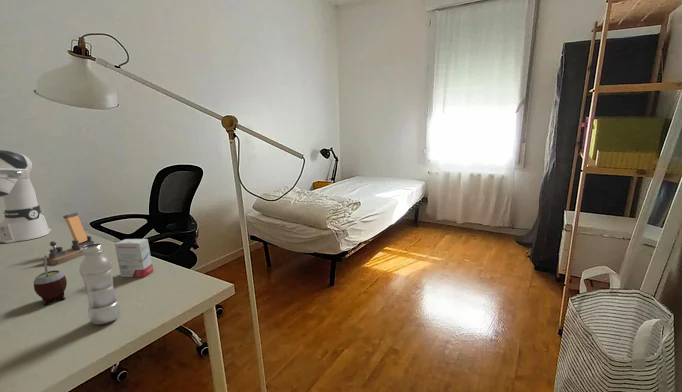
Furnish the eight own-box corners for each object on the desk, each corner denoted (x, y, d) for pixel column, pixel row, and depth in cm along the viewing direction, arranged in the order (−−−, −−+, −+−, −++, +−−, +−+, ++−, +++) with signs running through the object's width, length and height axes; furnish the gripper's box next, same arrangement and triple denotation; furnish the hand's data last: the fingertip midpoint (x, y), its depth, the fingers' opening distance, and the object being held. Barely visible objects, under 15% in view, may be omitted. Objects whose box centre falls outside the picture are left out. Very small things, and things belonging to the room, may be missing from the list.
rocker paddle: (74, 244, 133) (62, 216, 131) (85, 240, 137) (73, 213, 135) (78, 243, 132) (66, 215, 130) (88, 239, 136) (77, 212, 134)
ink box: (154, 271, 114) (148, 238, 111) (144, 277, 109) (138, 243, 106) (130, 270, 114) (125, 238, 112) (120, 277, 110) (113, 243, 107)
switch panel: (43, 263, 124) (40, 249, 123) (85, 248, 139) (82, 235, 138) (58, 264, 122) (55, 250, 121) (98, 249, 137) (95, 236, 136)
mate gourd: (53, 294, 100) (42, 246, 97) (78, 293, 99) (68, 245, 96) (29, 307, 92) (16, 256, 89) (57, 306, 92) (45, 255, 89)
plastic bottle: (100, 314, 87) (85, 242, 83) (127, 312, 88) (114, 240, 84) (84, 329, 81) (67, 251, 77) (113, 327, 81) (98, 249, 77)
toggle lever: (51, 252, 124) (47, 242, 124) (56, 250, 126) (52, 241, 125) (55, 251, 124) (51, 241, 123) (60, 249, 125) (56, 240, 125)
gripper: (17, 181, 128) (39, 183, 123) (-62, 181, 109) (-40, 182, 104) (17, 165, 128) (39, 165, 123) (-62, 161, 109) (-40, 162, 104)
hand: (2, 173), depth 114 cm, fingers open, 8 cm apart
